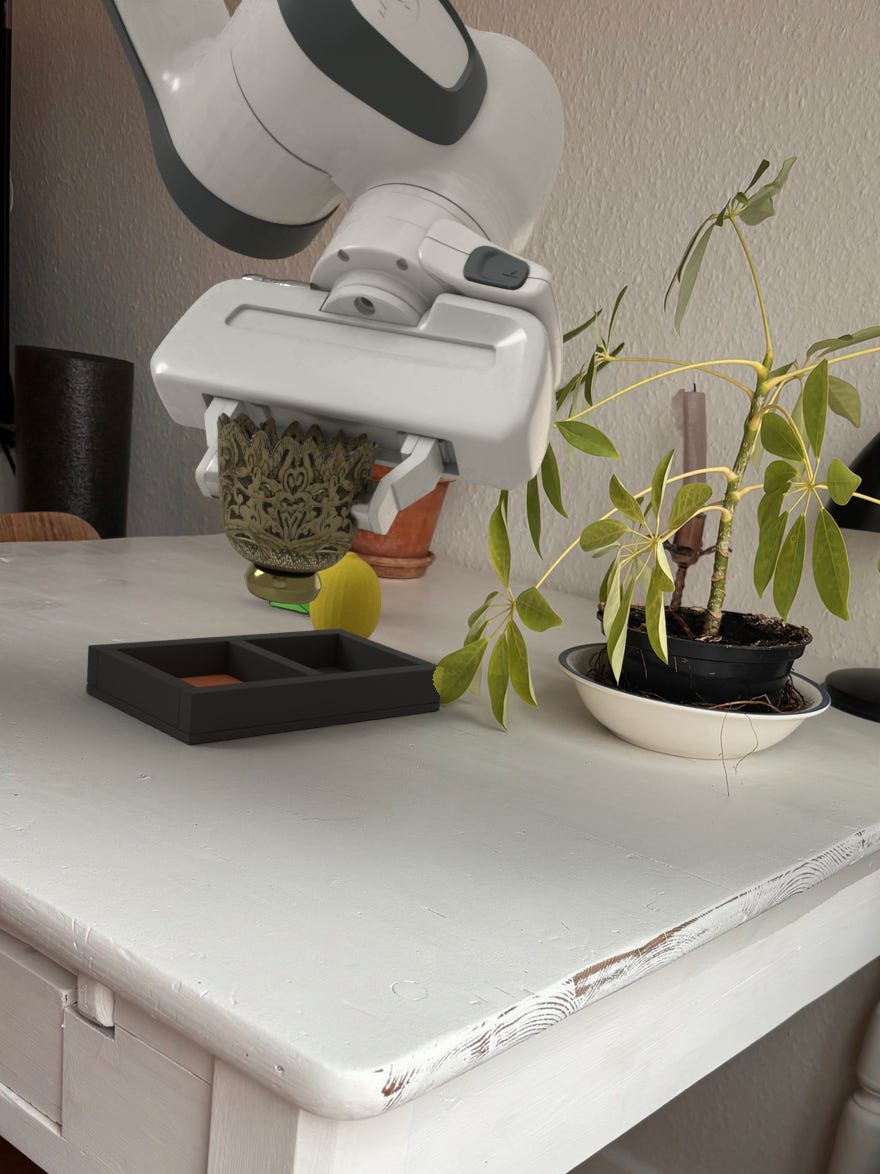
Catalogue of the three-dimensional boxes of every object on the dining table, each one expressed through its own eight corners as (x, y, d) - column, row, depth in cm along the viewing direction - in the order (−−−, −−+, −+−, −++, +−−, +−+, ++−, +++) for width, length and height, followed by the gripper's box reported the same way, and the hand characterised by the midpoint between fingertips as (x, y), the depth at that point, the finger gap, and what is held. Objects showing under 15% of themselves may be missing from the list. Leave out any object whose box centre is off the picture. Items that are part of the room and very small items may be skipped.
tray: (85, 692, 82) (87, 644, 81) (335, 668, 97) (339, 628, 96) (188, 745, 75) (192, 693, 74) (439, 710, 90) (445, 667, 89)
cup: (356, 626, 59) (379, 447, 56) (194, 603, 58) (209, 419, 55) (358, 593, 66) (379, 432, 63) (213, 572, 65) (227, 407, 62)
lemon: (317, 661, 98) (328, 556, 95) (296, 643, 102) (306, 542, 99) (384, 664, 100) (397, 561, 97) (361, 646, 105) (373, 547, 102)
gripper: (203, 220, 65) (74, 418, 60) (584, 276, 60) (477, 501, 55) (241, 320, 71) (126, 510, 66) (592, 380, 65) (496, 593, 60)
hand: (288, 507), depth 60 cm, fingers closed on cup, 7 cm apart
